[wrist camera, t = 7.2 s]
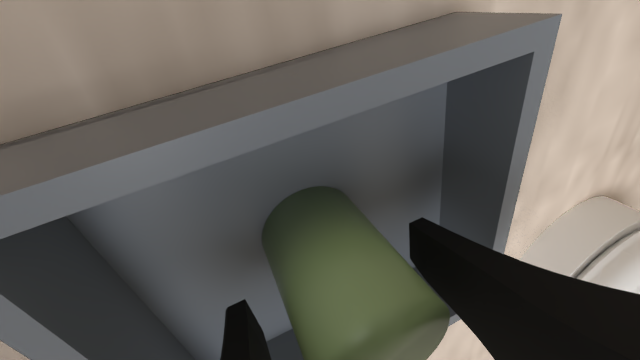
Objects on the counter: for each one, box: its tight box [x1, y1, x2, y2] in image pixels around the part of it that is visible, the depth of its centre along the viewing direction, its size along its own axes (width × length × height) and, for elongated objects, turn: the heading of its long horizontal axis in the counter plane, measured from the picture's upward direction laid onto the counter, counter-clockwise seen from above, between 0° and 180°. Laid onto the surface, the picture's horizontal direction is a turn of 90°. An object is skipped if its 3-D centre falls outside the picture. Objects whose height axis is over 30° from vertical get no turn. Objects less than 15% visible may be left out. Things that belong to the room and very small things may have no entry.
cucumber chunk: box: [262, 186, 450, 360], centre depth 11 cm, size 4×4×6 cm
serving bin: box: [0, 12, 562, 360], centre depth 12 cm, size 16×14×4 cm
